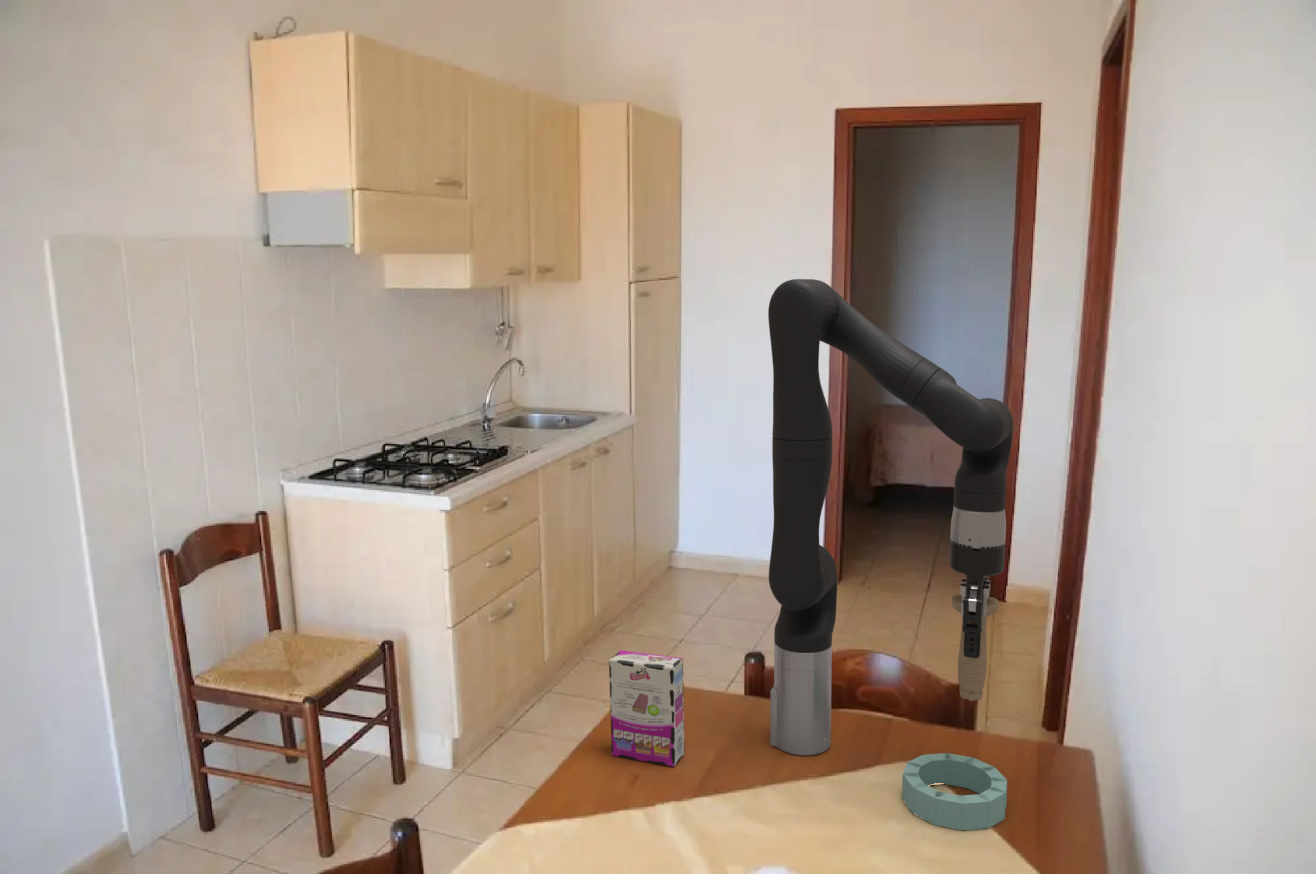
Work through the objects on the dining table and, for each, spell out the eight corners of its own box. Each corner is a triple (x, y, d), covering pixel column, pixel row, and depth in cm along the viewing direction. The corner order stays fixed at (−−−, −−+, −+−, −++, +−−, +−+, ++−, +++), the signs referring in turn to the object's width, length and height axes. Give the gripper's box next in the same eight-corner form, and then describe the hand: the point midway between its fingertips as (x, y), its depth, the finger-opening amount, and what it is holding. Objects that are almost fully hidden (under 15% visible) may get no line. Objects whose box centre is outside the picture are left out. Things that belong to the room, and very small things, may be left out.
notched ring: (896, 818, 133) (896, 791, 133) (910, 771, 146) (911, 747, 145) (1002, 839, 128) (1003, 811, 127) (1008, 788, 141) (1009, 763, 140)
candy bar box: (685, 754, 153) (684, 657, 150) (674, 768, 148) (673, 668, 146) (622, 742, 157) (620, 648, 154) (609, 756, 152) (607, 659, 150)
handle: (995, 706, 137) (1000, 607, 134) (948, 702, 138) (952, 603, 136) (992, 693, 141) (997, 596, 139) (947, 688, 143) (951, 593, 141)
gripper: (954, 524, 144) (950, 632, 147) (946, 547, 131) (941, 666, 134) (1007, 528, 141) (1001, 638, 144) (1003, 553, 128) (997, 673, 131)
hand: (972, 651), depth 139 cm, fingers closed on handle, 3 cm apart
